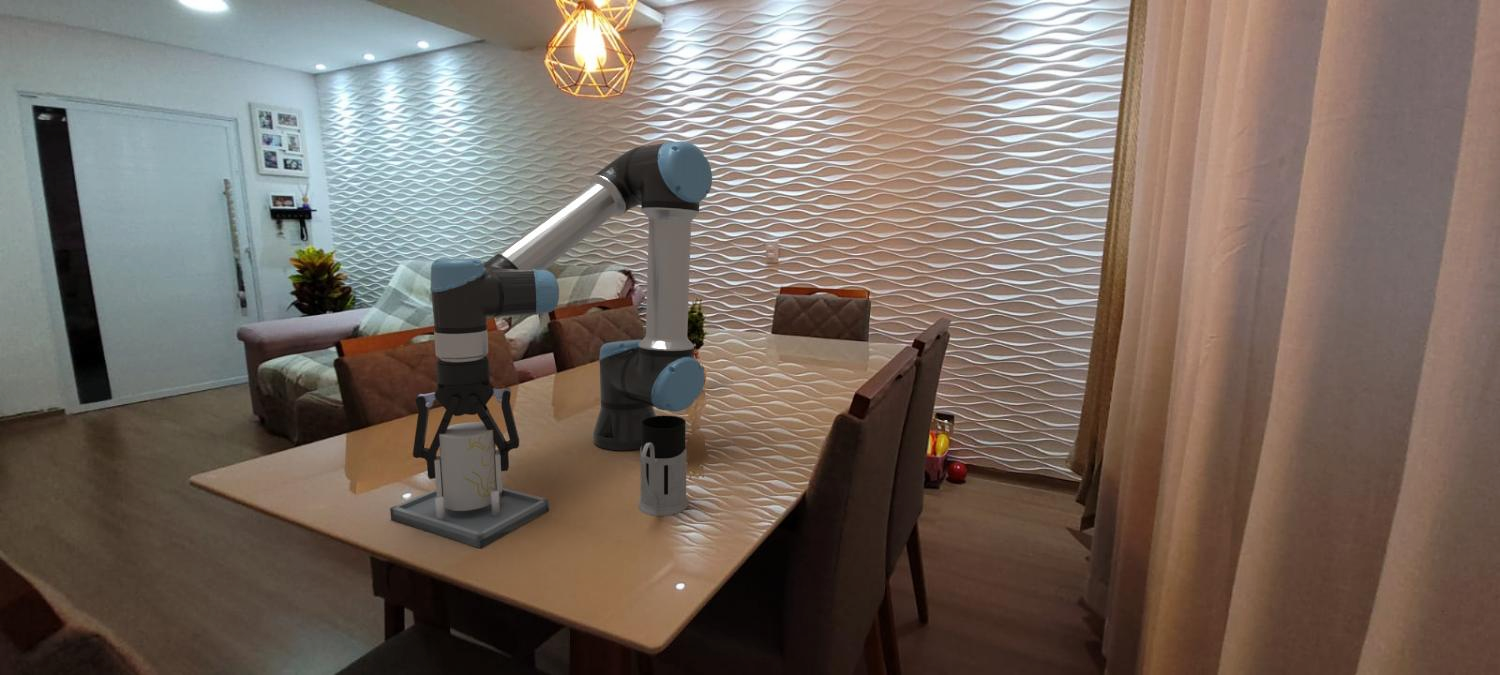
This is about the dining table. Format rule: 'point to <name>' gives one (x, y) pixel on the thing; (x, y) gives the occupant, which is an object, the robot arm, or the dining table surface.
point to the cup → (467, 466)
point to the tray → (471, 516)
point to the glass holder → (663, 466)
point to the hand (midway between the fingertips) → (470, 492)
